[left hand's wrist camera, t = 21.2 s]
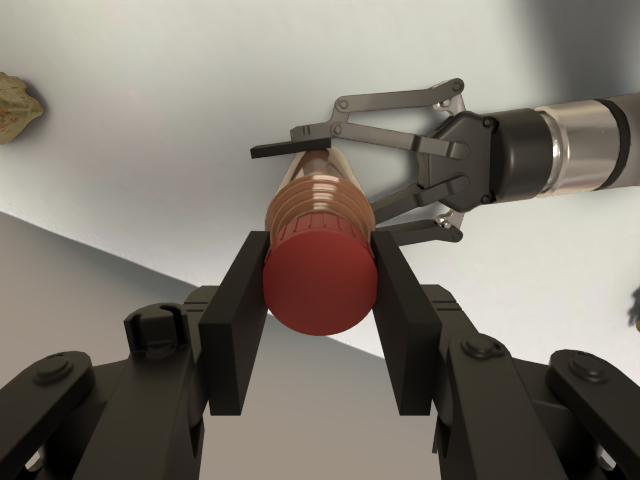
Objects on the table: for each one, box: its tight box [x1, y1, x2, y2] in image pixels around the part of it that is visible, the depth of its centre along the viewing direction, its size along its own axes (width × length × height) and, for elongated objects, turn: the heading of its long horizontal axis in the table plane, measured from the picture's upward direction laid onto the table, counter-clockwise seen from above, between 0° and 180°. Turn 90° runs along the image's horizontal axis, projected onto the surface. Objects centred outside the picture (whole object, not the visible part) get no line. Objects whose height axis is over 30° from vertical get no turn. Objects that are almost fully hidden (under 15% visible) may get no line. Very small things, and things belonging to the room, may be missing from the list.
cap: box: [263, 213, 378, 336], centre depth 13 cm, size 4×4×2 cm
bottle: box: [265, 144, 375, 246], centre depth 25 cm, size 6×6×25 cm
